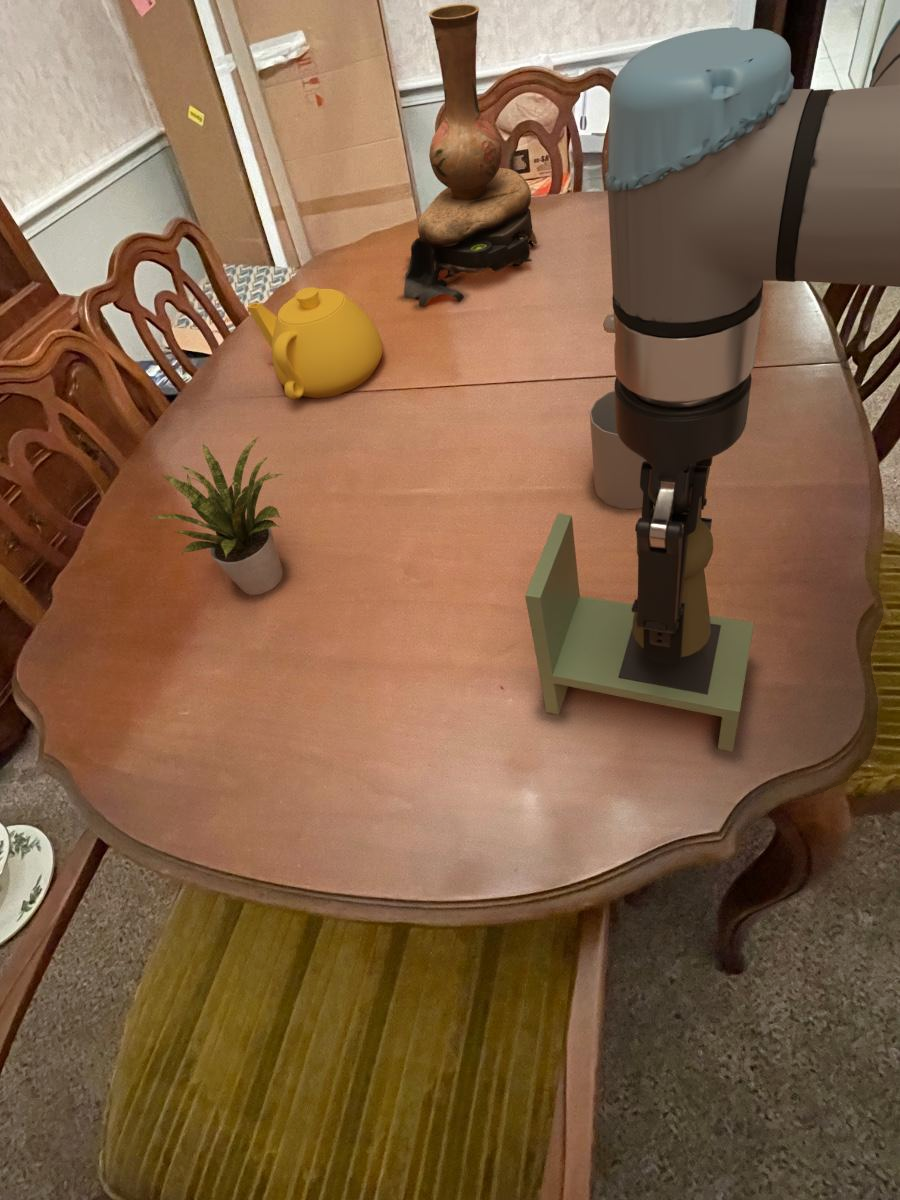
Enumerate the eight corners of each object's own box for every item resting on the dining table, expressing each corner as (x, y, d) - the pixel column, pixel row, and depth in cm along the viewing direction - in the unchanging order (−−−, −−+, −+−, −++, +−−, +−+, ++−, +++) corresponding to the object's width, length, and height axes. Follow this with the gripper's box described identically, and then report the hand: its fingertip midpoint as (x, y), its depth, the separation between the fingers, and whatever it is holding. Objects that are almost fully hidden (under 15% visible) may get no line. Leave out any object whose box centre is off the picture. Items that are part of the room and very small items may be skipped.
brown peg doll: (627, 602, 62) (625, 503, 54) (703, 595, 61) (712, 493, 53) (636, 661, 58) (635, 564, 50) (717, 654, 57) (730, 554, 49)
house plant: (337, 523, 91) (290, 410, 79) (324, 610, 82) (269, 497, 70) (226, 540, 93) (164, 432, 81) (202, 626, 84) (127, 519, 72)
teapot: (405, 346, 115) (384, 264, 106) (341, 420, 105) (311, 337, 96) (302, 335, 124) (274, 259, 114) (234, 403, 114) (197, 325, 105)
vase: (537, 290, 119) (508, 20, 93) (401, 310, 123) (337, 57, 97) (537, 225, 134) (511, -23, 108) (416, 245, 138) (363, 11, 112)
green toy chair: (746, 665, 67) (768, 536, 55) (732, 752, 62) (753, 631, 50) (571, 635, 73) (557, 513, 61) (546, 712, 68) (524, 595, 56)
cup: (634, 519, 82) (633, 446, 74) (579, 488, 87) (573, 416, 79) (686, 478, 84) (690, 403, 77) (629, 451, 89) (628, 378, 82)
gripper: (648, 285, 49) (646, 536, 67) (573, 474, 39) (594, 715, 56) (771, 285, 47) (736, 546, 64) (727, 488, 36) (699, 737, 53)
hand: (670, 624), depth 60 cm, fingers closed on brown peg doll, 6 cm apart
